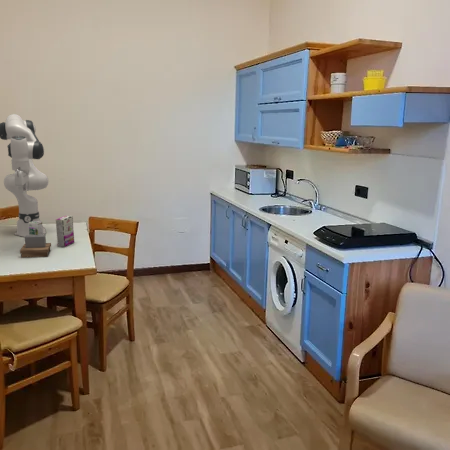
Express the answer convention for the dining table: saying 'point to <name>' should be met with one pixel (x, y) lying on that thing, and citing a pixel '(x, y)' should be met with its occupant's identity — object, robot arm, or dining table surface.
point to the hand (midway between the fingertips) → (22, 191)
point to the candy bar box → (65, 231)
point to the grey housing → (35, 241)
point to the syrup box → (35, 228)
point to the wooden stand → (35, 251)
